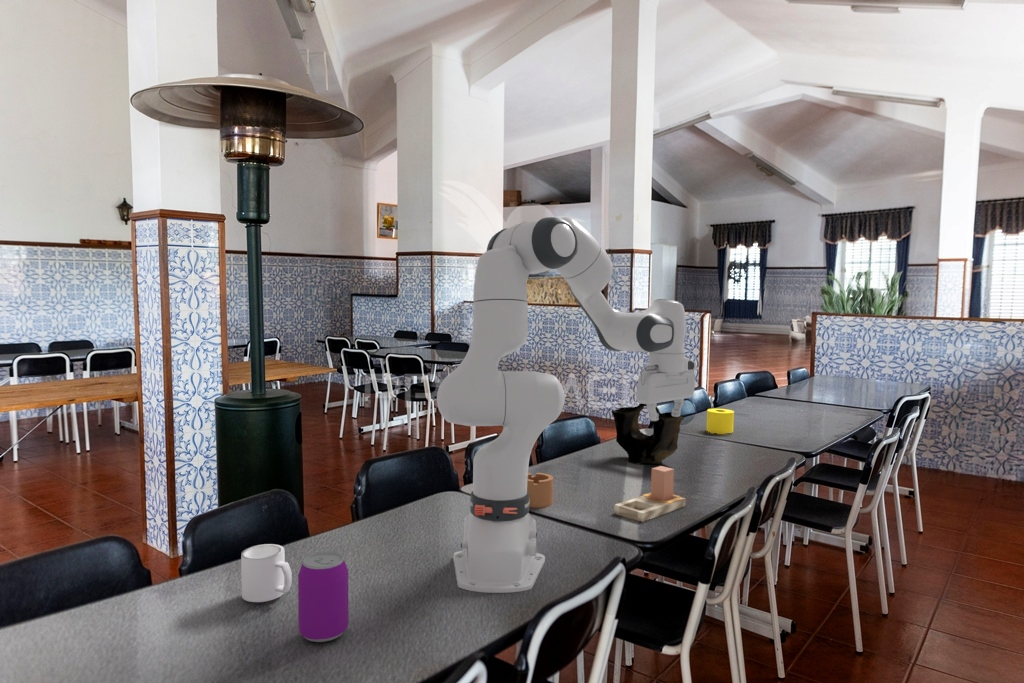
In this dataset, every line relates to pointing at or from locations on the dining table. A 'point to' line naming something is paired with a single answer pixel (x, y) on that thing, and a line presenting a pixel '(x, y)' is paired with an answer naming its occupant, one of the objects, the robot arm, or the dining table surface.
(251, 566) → the mug
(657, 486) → the terracotta peg
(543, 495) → the bracket
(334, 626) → the beverage can
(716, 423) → the tape roll
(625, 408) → the pottery vessel
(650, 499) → the peg board
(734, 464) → the dining table surface
